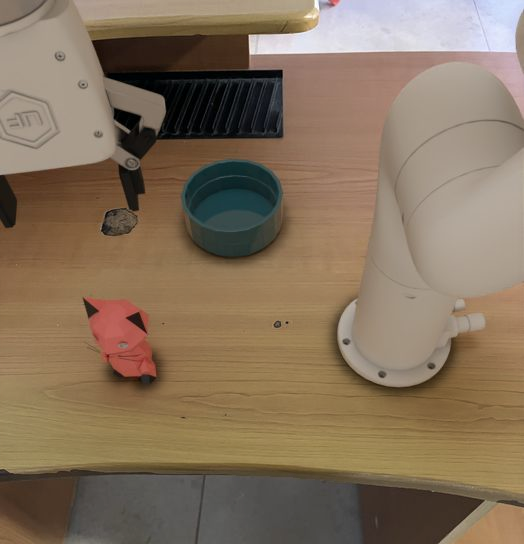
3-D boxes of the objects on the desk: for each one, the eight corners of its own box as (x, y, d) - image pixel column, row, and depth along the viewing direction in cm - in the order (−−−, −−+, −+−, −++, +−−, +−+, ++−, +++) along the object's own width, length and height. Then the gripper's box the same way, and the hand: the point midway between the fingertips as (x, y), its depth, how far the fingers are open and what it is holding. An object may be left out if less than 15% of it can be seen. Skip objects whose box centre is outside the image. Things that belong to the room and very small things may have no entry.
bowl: (272, 181, 79) (272, 152, 74) (291, 250, 72) (291, 222, 68) (182, 195, 78) (176, 166, 74) (192, 265, 71) (186, 238, 67)
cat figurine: (96, 384, 63) (59, 324, 53) (122, 334, 66) (92, 268, 56) (154, 400, 62) (129, 343, 52) (178, 349, 65) (158, 285, 55)
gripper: (-208, 32, 28) (-43, 257, 43) (142, -5, 29) (186, 226, 44) (-174, -43, 32) (-33, 188, 47) (134, -73, 33) (177, 161, 48)
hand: (73, 206), depth 45 cm, fingers open, 9 cm apart
